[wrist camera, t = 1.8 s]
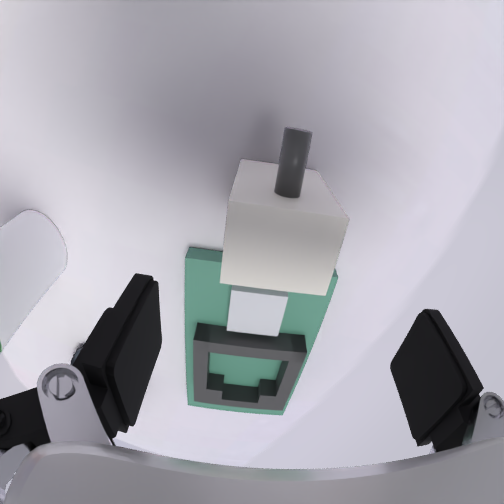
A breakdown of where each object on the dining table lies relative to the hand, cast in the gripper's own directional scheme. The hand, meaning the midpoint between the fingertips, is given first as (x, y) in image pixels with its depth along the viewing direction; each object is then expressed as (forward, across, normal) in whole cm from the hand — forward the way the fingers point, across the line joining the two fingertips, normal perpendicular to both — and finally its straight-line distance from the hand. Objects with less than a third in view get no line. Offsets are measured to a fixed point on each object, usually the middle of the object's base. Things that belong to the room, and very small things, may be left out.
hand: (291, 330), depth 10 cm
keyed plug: (+12, 0, -1) cm, 12 cm away
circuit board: (+12, 0, +14) cm, 19 cm away
